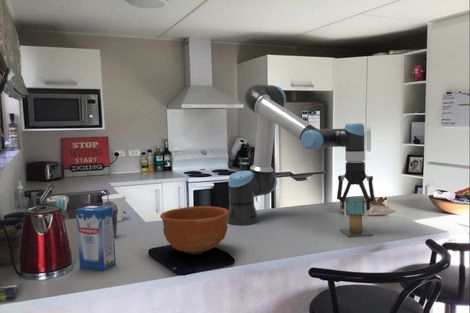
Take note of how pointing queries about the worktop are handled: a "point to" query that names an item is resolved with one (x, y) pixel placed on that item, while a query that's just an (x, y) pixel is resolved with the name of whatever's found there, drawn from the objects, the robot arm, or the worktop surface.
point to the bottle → (355, 227)
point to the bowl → (195, 227)
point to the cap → (355, 205)
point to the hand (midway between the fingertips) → (355, 217)
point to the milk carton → (96, 237)
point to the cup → (117, 203)
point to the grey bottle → (115, 212)
